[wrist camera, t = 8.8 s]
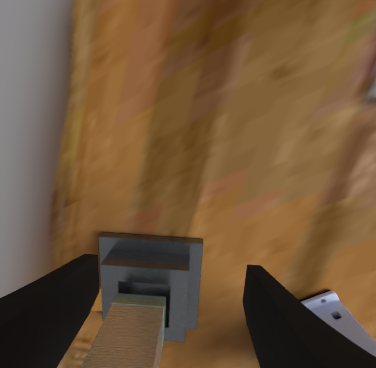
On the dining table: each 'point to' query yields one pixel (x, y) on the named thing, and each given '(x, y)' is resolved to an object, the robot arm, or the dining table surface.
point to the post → (130, 334)
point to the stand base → (153, 275)
